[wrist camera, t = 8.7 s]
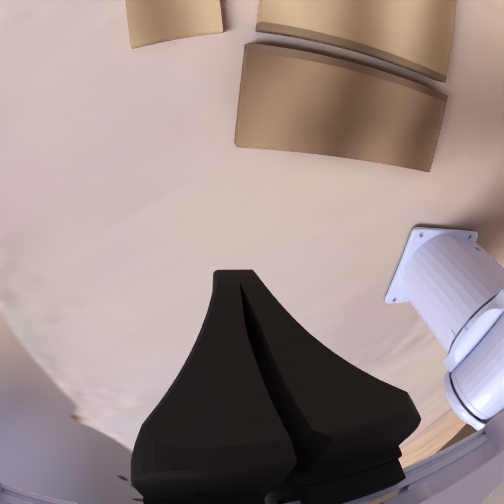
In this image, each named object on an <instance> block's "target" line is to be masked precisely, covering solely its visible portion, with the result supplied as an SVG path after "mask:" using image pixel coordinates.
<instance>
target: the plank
mask: <svg viewBox="0 0 504 504" xmlns="http://www.w3.org/2000/svg"><path fill="white" fill-rule="evenodd" d="M126 10H127V20H128V28H129V37H130V45H131V48H133V49H134V48H138V47H142V46H147V45H151V44H156V43H160V42H165V41H170V40H176V39H182V38H188V37H194V36H201V35H208V34H216V33H222V32H223V25H222V16H221V7H220V0H126Z"/></svg>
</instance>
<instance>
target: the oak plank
mask: <svg viewBox="0 0 504 504" xmlns="http://www.w3.org/2000/svg"><path fill="white" fill-rule="evenodd" d="M455 7H456V0H260V3H259V10H258V18H257V25H256V32H262V33H269V34H276V35H282V36H288V37H294V38H299V39H304V40H309V41H314V42H318V43H323V44H327V45H331V46H335V47H339V48H343V49H347V50H350V51H354V52H357V53H361V54H364V55H368V56H371V57H374V58H377V59H380V60H383V61H386V62H389V63H392V64H395V65H398V66H400V67H403V68H406V69H408V70H411V71H414V72H416V73H419V74H421V75H424V76H426V77H428V78H431V79H433V80H436V81H440V82H444V83H445V81H446V73H447V68H448V62H449V56H450V49H451V42H452V35H453V27H454V18H455Z"/></svg>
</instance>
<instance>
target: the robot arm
mask: <svg viewBox="0 0 504 504" xmlns="http://www.w3.org/2000/svg"><path fill="white" fill-rule="evenodd" d="M420 233H421V234H420ZM477 238H478V233H477V232H476V231H466V230H453V229H439V228H425V227H415V228H414V229H413V230H412V232H411V234H410V237H409V240H408V242H407V245H406V248H405V250H404V253H403V256H402V258H401V261H400V263H399V266H398V268H397V271H396V273H395V276H394V278H393V281H392V283H391V285H390V288H389V290H388V292H387V295H386V297H385V302H386V303H387V304H391V303H400V302H409V301H410V302H411V304H412V305H413V306H414V308H415V309H416V310H417V312H418V313H419V314H420V316H421V317H422V319H423V320H424V321H425V323H426V324H427V325H428V327H429V328H430V330H431V331H432V333H433V334H434V335H435V337H436V338H437V340H438V341H439V342H440V344H441V345H442V347H443V348H444V350H445V351H446V353H447V354H448V356H447V357H446V358H445V360H444V361H443V362H444V364H445V365H446V367H447V368H448V371H447V373H446V375H445V379H444V382H445V392H446V396H447V399H448V401H449V403H450V405H451V407H452V408H453V410H454V411H455V412H456V414H457V415H458V416H459V417H460V418H461V419H462V420H463V421H465V422H466V423H468V424H470V425H471V426H473V427H474V428H475V429H476V430H477V432H475V433H474V434H472V435H470V436H468V437H467V438H465V439H463V440H461V441H459V442H458V443H456V444H454V445H452V446H450V447H448V448H447V449H444V450H442V451H440V452H438V453H436V454H434V455H432V456H430V457H428V458H426V459H424V460H422V461H419V462H417V463H415V464H413V465H410V466H408V467H406V468H403V469H402V467H401V464H400V462H399V460H398V458H400V457H401V456H402V453H401V450H400V448H399V445H400V444H401V443H402V442H403V441H404V440H405V439H406V438H408V437H409V436H410V435H411V434H412V433H413V432H414V431H415V430H416V429H417V427H418V426H419V424H420V421H421V417H420V415H419V413H418V411H417V409H416V407H415V405H414V403H413V401H412V399H411V398H410V396H409V394H408V393H407V392H406V391H404V390H401V389H399V388H397V387H394V386H392V385H390V384H388V383H385V382H383V381H381V380H379V379H377V378H375V377H373V376H371V375H369V374H368V373H366V372H364V371H362V370H360V369H359V368H357V367H355V366H354V365H352V364H350V363H349V362H347V361H346V360H344V359H343V358H341V357H340V356H338V355H337V354H335V353H334V352H332V351H331V350H330V349H328V348H327V347H326V346H324V345H323V344H322V343H321V342H319V341H318V340H317V339H316V338H315V337H313V336H312V335H311V334H310V333H309V332H307V331H306V330H305V329H304V328H303V327H302V326H301V325H300V324H299V323H298V322H297V321H296V320H295V319H294V318H293V317H292V316H291V315H290V314H289V313H288V312H287V311H286V309H285V308H284V307H283V306H282V305H281V304H280V303H279V302H278V301H277V299H276V298H275V297H274V296H273V295H272V293H271V292H270V291H269V290H268V289H267V287H266V286H265V285H264V283H263V282H262V281H261V280H260V278H259V277H258V276H257V274H256V273H255V272H254V271H253V270H216V271H215V272H214V273H213V292H212V296H211V300H210V304H209V308H208V311H207V314H206V317H205V320H204V322H203V325H202V328H201V330H200V333H199V335H198V337H197V340H196V342H195V344H194V346H193V348H192V350H191V352H190V354H189V356H188V358H187V360H186V362H185V364H184V365H183V367H182V369H181V371H180V372H179V374H178V376H177V377H176V379H175V380H174V382H173V383H172V385H171V386H170V388H169V389H168V391H167V392H166V394H165V395H164V397H163V398H162V400H161V401H160V402H159V404H158V405H157V406H156V407H155V409H154V410H153V411H152V413H151V414H150V415H149V416H148V418H147V419H146V420H145V421H144V423H143V424H142V426H141V429H140V431H139V434H138V437H137V439H136V442H135V446H134V449H133V453H132V459H131V483H132V485H133V486H134V488H135V489H136V490H137V491H138V492H139V493H140V494H141V495H142V496H143V502H144V504H367V503H369V502H372V501H375V500H377V499H380V498H383V497H385V496H388V495H390V494H392V493H395V492H397V491H399V493H398V495H397V496H395V497H393V498H391V499H389V500H386V501H384V502H382V503H380V504H482V503H483V502H484V501H485V500H486V499H487V498H488V497H489V496H490V495H492V494H493V493H494V492H495V491H496V490H497V489H498V488H499V487H500V486H501V485H502V483H504V268H503V267H502V266H501V265H500V264H499V263H498V262H497V261H496V260H495V259H493V258H492V257H491V256H490V255H489V254H488V253H487V252H486V251H485V250H484V249H482V248H481V247H480V246H479V245H478V244H477V243H476V241H477ZM0 504H78V503H73V502H68V501H63V500H59V499H55V498H51V497H47V496H43V495H39V494H36V493H32V492H28V491H26V490H22V489H19V488H16V487H13V486H10V485H7V484H4V483H1V482H0Z"/></svg>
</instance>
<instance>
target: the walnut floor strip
mask: <svg viewBox="0 0 504 504" xmlns="http://www.w3.org/2000/svg"><path fill="white" fill-rule="evenodd" d="M447 97H448V96H447V95H445V94H442V93H440V92H438V91H435V90H433V89H431V88H428V87H426V86H423V85H420V84H418V83H415V82H413V81H410V80H407V79H404V78H401V77H399V76H396V75H393V74H390V73H387V72H384V71H380V70H377V69H374V68H371V67H367V66H364V65H360V64H357V63H353V62H349V61H345V60H341V59H337V58H333V57H329V56H324V55H320V54H315V53H310V52H305V51H300V50H295V49H289V48H283V47H276V46H269V45H262V44H254V43H247V44H246V45H245V49H244V57H243V66H242V74H241V83H240V92H239V101H238V111H237V121H236V130H235V140H234V143H235V145H236V147H239V148H255V149H269V150H281V151H292V152H302V153H311V154H320V155H328V156H336V157H343V158H350V159H357V160H364V161H370V162H376V163H382V164H388V165H394V166H399V167H405V168H410V169H415V170H420V171H425V172H430V169H431V165H432V162H433V158H434V154H435V150H436V146H437V142H438V138H439V134H440V129H441V125H442V120H443V115H444V111H445V106H446V102H447Z"/></svg>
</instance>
